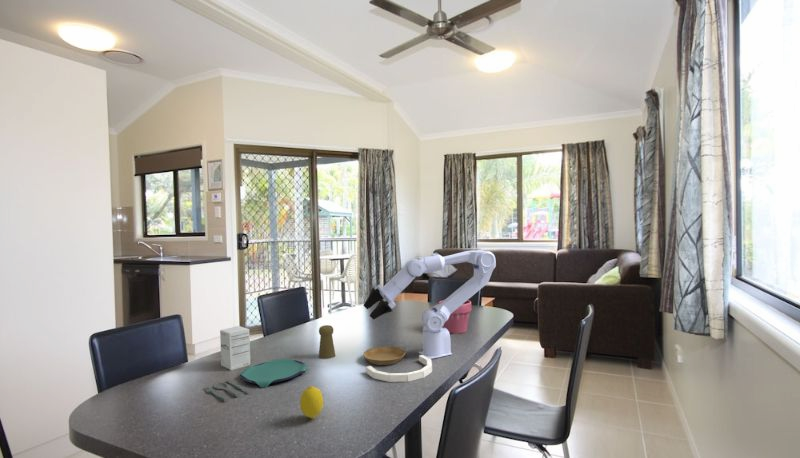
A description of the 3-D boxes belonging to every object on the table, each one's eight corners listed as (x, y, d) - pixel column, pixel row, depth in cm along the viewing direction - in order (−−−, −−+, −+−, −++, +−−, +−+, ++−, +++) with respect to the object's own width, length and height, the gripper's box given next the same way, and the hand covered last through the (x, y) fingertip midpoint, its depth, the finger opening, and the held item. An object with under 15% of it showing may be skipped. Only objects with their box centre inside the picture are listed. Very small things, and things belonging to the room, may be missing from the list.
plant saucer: (407, 353, 148) (407, 346, 148) (403, 367, 133) (403, 360, 133) (367, 353, 150) (367, 346, 150) (359, 367, 135) (359, 360, 135)
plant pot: (440, 326, 183) (439, 298, 183) (471, 326, 182) (470, 298, 181) (438, 335, 169) (437, 305, 169) (472, 335, 167) (472, 304, 167)
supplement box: (220, 366, 140) (219, 329, 140) (241, 360, 145) (240, 325, 145) (230, 371, 135) (228, 333, 135) (251, 364, 140) (250, 328, 140)
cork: (331, 359, 144) (330, 328, 143) (315, 358, 145) (314, 327, 145) (337, 353, 150) (336, 323, 149) (322, 353, 151) (321, 323, 151)
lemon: (302, 414, 102) (301, 382, 102) (324, 412, 103) (323, 381, 103) (299, 424, 97) (297, 391, 97) (322, 423, 97) (321, 390, 97)
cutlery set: (318, 373, 131) (318, 366, 131) (225, 407, 109) (224, 399, 109) (285, 361, 144) (285, 354, 144) (197, 389, 123) (197, 381, 123)
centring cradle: (422, 360, 139) (422, 354, 139) (444, 372, 128) (444, 366, 127) (366, 372, 129) (366, 366, 129) (384, 387, 118) (384, 380, 118)
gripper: (382, 270, 148) (355, 296, 147) (396, 287, 135) (367, 315, 134) (394, 282, 151) (367, 307, 150) (409, 299, 138) (380, 327, 137)
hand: (368, 312), depth 142 cm, fingers open, 7 cm apart
